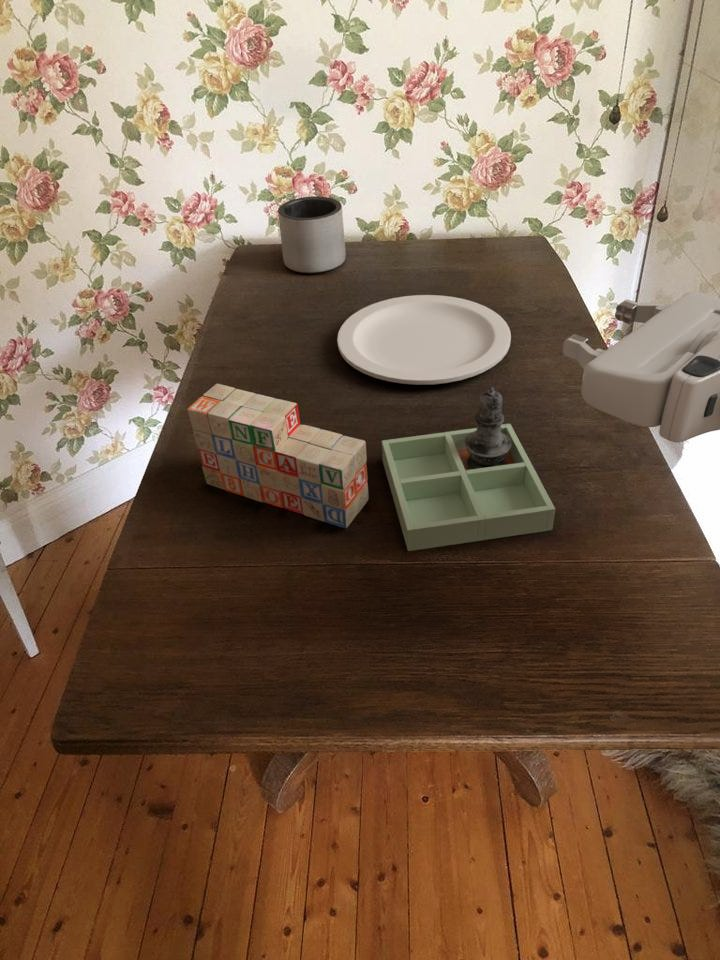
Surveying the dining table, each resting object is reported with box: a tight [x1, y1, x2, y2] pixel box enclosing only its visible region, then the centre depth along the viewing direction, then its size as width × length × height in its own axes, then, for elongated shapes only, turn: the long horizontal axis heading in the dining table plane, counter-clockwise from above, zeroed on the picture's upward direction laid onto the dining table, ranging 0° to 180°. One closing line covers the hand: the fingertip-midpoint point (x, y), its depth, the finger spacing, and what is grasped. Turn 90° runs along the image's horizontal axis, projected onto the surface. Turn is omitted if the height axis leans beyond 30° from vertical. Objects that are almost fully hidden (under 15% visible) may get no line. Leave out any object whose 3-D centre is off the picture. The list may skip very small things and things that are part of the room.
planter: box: [277, 195, 347, 275], centre depth 148 cm, size 13×12×11 cm
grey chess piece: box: [465, 385, 511, 470], centre depth 94 cm, size 6×6×12 cm
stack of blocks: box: [187, 383, 370, 529], centre depth 93 cm, size 21×6×12 cm, turn 62°
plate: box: [336, 294, 512, 386], centre depth 123 cm, size 28×28×2 cm
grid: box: [381, 423, 556, 552], centre depth 94 cm, size 17×17×3 cm
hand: (593, 325), depth 75 cm, fingers open, 8 cm apart
